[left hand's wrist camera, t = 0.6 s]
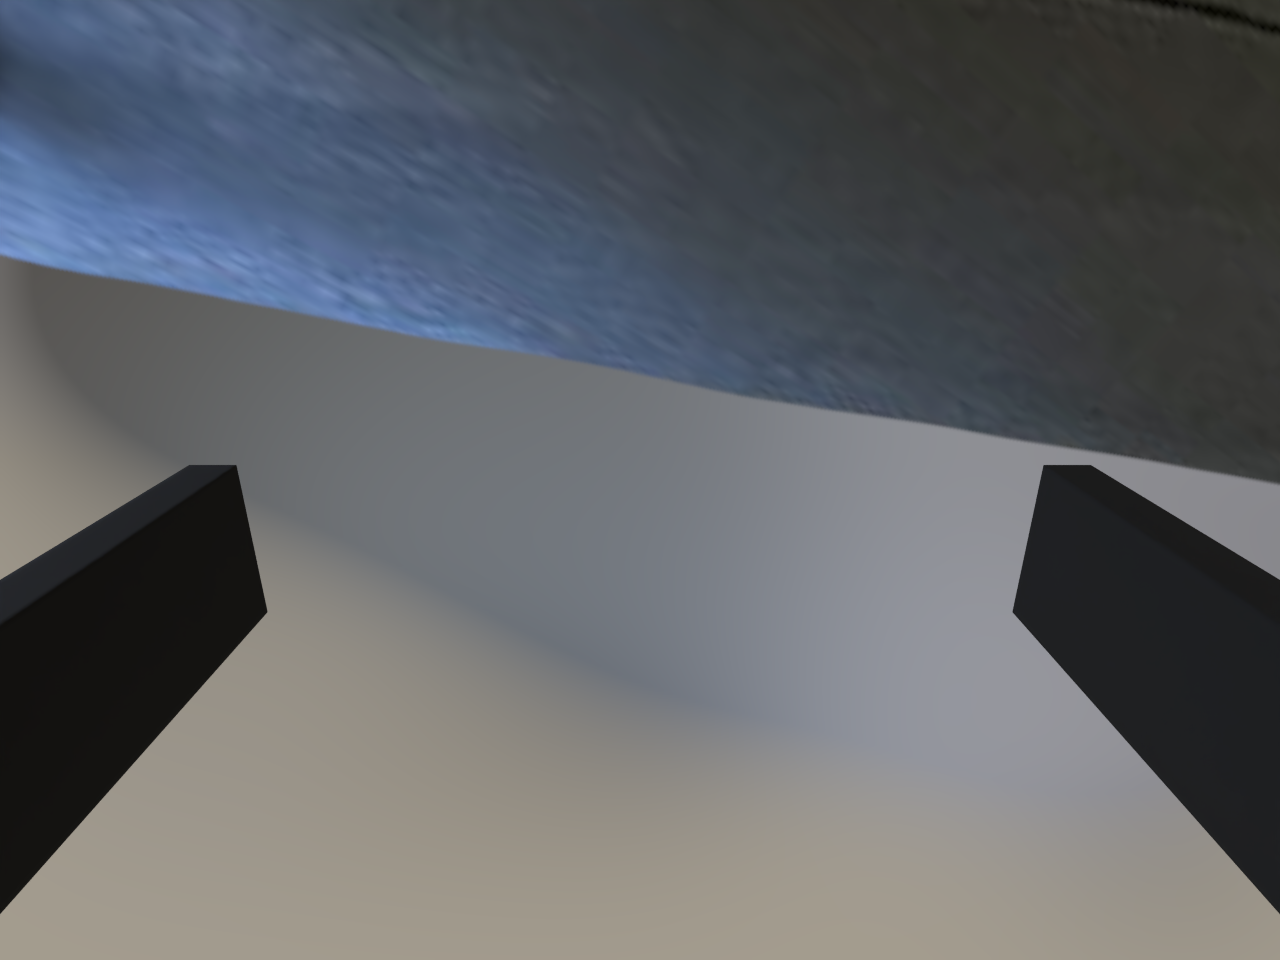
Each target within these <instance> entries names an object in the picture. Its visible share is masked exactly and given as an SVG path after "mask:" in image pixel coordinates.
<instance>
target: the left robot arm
mask: <svg viewBox="0 0 1280 960" xmlns="http://www.w3.org/2000/svg"><path fill="white" fill-rule="evenodd" d="M266 613H267V607H266V603H265V598H264V593H263V589H262V584H261V579H260V574H259V570H258V565H257V560H256V555H255V551H254V546H253V542H252V537H251V532H250V527H249V522H248V518H247V513H246V509H245V504H244V499H243V494H242V489H241V485H240V480H239V475H238V471H237V466H236V465H189V466H187V467H185V468H184V469H182V470H180V471H179V472H177V473H176V474H174V475H172V476H171V477H169V478H167V479H166V480H164V481H162V482H161V483H159V484H157V485H156V486H154V487H152V488H151V489H149V490H147V491H146V492H144V493H143V494H141V495H139V496H138V497H136V498H134V499H133V500H131V501H129V502H128V503H126V504H124V505H123V506H121V507H120V508H118V509H116V510H115V511H113V512H111V513H110V514H108V515H106V516H105V517H103V518H101V519H100V520H98V521H96V522H95V523H93V524H92V525H90V526H88V527H87V528H85V529H83V530H82V531H80V532H78V533H77V534H75V535H73V536H72V537H70V538H68V539H67V540H65V541H64V542H62V543H60V544H59V545H57V546H55V547H54V548H52V549H50V550H49V551H47V552H45V553H44V554H42V555H40V556H39V557H37V558H36V559H34V560H32V561H31V562H29V563H27V564H26V565H24V566H22V567H21V568H19V569H17V570H16V571H14V572H12V573H11V574H9V575H8V576H6V577H4V578H3V579H1V580H0V914H1V912H2V911H3V910H4V909H5V908H6V907H7V906H8V904H9V903H10V902H11V901H12V900H13V899H14V898H15V897H16V895H17V894H18V893H19V892H20V891H21V890H22V889H23V888H24V886H25V885H26V884H27V883H28V882H29V881H30V880H31V879H32V877H33V876H34V875H35V874H36V873H37V872H38V871H39V870H40V868H41V867H42V866H43V865H44V864H45V863H46V862H47V860H48V859H49V858H50V857H51V856H52V855H53V854H54V853H55V851H56V850H57V849H58V848H59V847H60V846H61V845H62V844H63V842H64V841H65V840H66V839H67V838H68V837H69V836H70V834H71V833H72V832H73V831H74V830H75V829H76V828H77V827H78V825H79V824H80V823H81V822H82V821H83V820H84V819H85V818H86V816H87V815H88V814H89V813H90V812H91V811H92V810H93V808H94V807H95V806H96V805H97V804H98V803H99V802H100V801H101V800H102V798H103V797H104V796H105V795H106V794H107V793H108V792H109V790H110V789H111V788H112V787H113V786H114V785H115V784H116V783H117V781H118V780H119V779H120V778H121V777H122V776H123V775H124V774H125V772H126V771H127V770H128V769H129V768H130V767H131V766H132V764H133V763H134V762H135V761H136V760H137V759H138V758H139V757H140V755H141V754H142V753H143V752H144V751H145V750H146V749H147V748H148V746H149V745H150V744H151V743H152V742H153V741H154V740H155V739H156V737H157V736H158V735H159V734H160V733H161V732H162V731H163V729H164V728H165V727H166V726H167V725H168V724H169V723H170V722H171V720H172V719H173V718H174V717H175V716H176V715H177V714H178V712H179V711H180V710H181V709H182V708H183V707H184V706H185V705H186V703H187V702H188V701H189V700H190V699H191V698H192V697H193V696H194V694H195V693H196V692H197V691H198V690H199V689H200V688H201V687H202V685H203V684H204V683H205V682H206V681H207V680H208V679H209V677H210V676H211V675H212V674H213V673H214V672H215V671H216V670H217V669H218V667H219V666H220V665H221V664H222V663H223V662H224V661H225V659H226V658H227V657H228V656H229V655H230V654H231V653H232V652H233V650H234V649H235V648H236V647H237V646H238V645H239V644H240V643H241V641H242V640H243V639H244V638H245V637H246V636H247V635H248V633H249V632H250V631H251V630H252V629H253V628H254V627H255V626H256V624H257V623H258V622H259V621H260V620H261V619H262V618H263V617H264V615H265V614H266ZM1013 613H1014V614H1015V615H1016V617H1017V618H1018V619H1019V620H1020V621H1021V622H1022V623H1023V624H1024V626H1025V627H1026V628H1027V629H1028V630H1029V631H1030V632H1031V633H1032V635H1033V636H1034V637H1035V638H1036V639H1037V640H1038V641H1039V643H1040V644H1041V645H1042V646H1043V647H1044V648H1045V649H1046V650H1047V652H1048V653H1049V654H1050V655H1051V656H1052V657H1053V658H1054V659H1055V661H1056V662H1057V663H1058V664H1059V665H1060V666H1061V667H1062V668H1063V670H1064V671H1065V672H1066V673H1067V674H1068V675H1069V676H1070V678H1071V679H1072V680H1073V681H1074V682H1075V683H1076V684H1077V685H1078V687H1079V688H1080V689H1081V690H1082V691H1083V692H1084V693H1085V694H1086V696H1087V697H1088V698H1089V699H1090V700H1091V701H1092V702H1093V704H1094V705H1095V706H1096V707H1097V708H1098V709H1099V710H1100V711H1101V713H1102V714H1103V715H1104V716H1105V717H1106V718H1107V719H1108V720H1109V722H1110V723H1111V724H1112V725H1113V726H1114V727H1115V728H1116V729H1117V731H1118V732H1119V733H1120V734H1121V735H1122V736H1123V737H1124V739H1125V740H1126V741H1127V742H1128V743H1129V744H1130V745H1131V746H1132V748H1133V749H1134V750H1135V751H1136V752H1137V753H1138V754H1139V755H1140V757H1141V758H1142V759H1143V760H1144V761H1145V762H1146V763H1147V764H1148V766H1149V767H1150V768H1151V769H1152V770H1153V771H1154V772H1155V774H1156V775H1157V776H1158V777H1159V778H1160V779H1161V780H1162V781H1163V783H1164V784H1165V785H1166V786H1167V787H1168V788H1169V789H1170V790H1171V792H1172V793H1173V794H1174V795H1175V796H1176V797H1177V798H1178V800H1179V801H1180V802H1181V803H1182V804H1183V805H1184V806H1185V807H1186V809H1187V810H1188V811H1189V812H1190V813H1191V814H1192V815H1193V816H1194V818H1195V819H1196V820H1197V821H1198V822H1199V823H1200V824H1201V825H1202V827H1203V828H1204V829H1205V830H1206V831H1207V832H1208V833H1209V835H1210V836H1211V837H1212V838H1213V839H1214V840H1215V841H1216V842H1217V844H1218V845H1219V846H1220V847H1221V848H1222V849H1223V850H1224V851H1225V853H1226V854H1227V855H1228V856H1229V857H1230V858H1231V859H1232V860H1233V862H1234V863H1235V864H1236V865H1237V866H1238V867H1239V868H1240V870H1241V871H1242V872H1243V873H1244V874H1245V875H1246V876H1247V877H1248V879H1249V880H1250V881H1251V882H1252V883H1253V884H1254V885H1255V886H1256V888H1257V889H1258V890H1259V891H1260V892H1261V893H1262V894H1263V896H1264V897H1265V898H1266V899H1267V900H1268V901H1269V902H1270V903H1271V905H1272V906H1273V907H1274V908H1275V909H1276V910H1277V911H1278V912H1279V914H1280V580H1279V579H1277V578H1276V577H1274V576H1272V575H1271V574H1269V573H1268V572H1266V571H1264V570H1263V569H1261V568H1259V567H1258V566H1256V565H1254V564H1253V563H1251V562H1249V561H1248V560H1246V559H1244V558H1243V557H1241V556H1239V555H1238V554H1236V553H1235V552H1233V551H1231V550H1230V549H1228V548H1226V547H1225V546H1223V545H1221V544H1220V543H1218V542H1216V541H1215V540H1213V539H1212V538H1210V537H1208V536H1207V535H1205V534H1203V533H1202V532H1200V531H1198V530H1197V529H1195V528H1193V527H1192V526H1190V525H1188V524H1187V523H1185V522H1184V521H1182V520H1180V519H1179V518H1177V517H1175V516H1174V515H1172V514H1170V513H1169V512H1167V511H1165V510H1164V509H1162V508H1161V507H1159V506H1157V505H1156V504H1154V503H1152V502H1151V501H1149V500H1147V499H1146V498H1144V497H1142V496H1141V495H1139V494H1137V493H1136V492H1134V491H1133V490H1131V489H1129V488H1128V487H1126V486H1124V485H1123V484H1121V483H1119V482H1118V481H1116V480H1114V479H1113V478H1111V477H1109V476H1108V475H1106V474H1105V473H1103V472H1101V471H1100V470H1098V469H1096V468H1095V467H1093V466H1091V465H1044V466H1043V471H1042V475H1041V480H1040V485H1039V489H1038V494H1037V499H1036V504H1035V508H1034V513H1033V518H1032V522H1031V527H1030V532H1029V537H1028V541H1027V546H1026V551H1025V555H1024V560H1023V565H1022V570H1021V574H1020V579H1019V584H1018V589H1017V593H1016V598H1015V603H1014V607H1013Z"/></svg>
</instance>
